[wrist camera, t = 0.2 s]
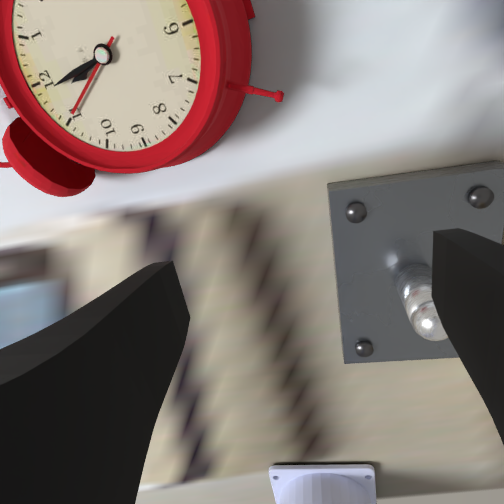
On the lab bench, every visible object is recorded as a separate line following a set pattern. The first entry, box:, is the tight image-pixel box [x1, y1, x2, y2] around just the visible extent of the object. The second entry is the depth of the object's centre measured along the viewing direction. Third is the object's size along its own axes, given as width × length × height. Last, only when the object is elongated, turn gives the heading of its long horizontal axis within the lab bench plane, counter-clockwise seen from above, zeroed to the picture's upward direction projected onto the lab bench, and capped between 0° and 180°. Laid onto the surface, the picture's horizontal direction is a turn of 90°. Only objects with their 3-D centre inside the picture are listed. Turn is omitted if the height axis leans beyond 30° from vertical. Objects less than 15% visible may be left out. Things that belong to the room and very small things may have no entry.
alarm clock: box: [0, 0, 284, 197], centre depth 16 cm, size 10×6×15 cm
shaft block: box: [327, 161, 504, 364], centre depth 19 cm, size 11×8×5 cm
